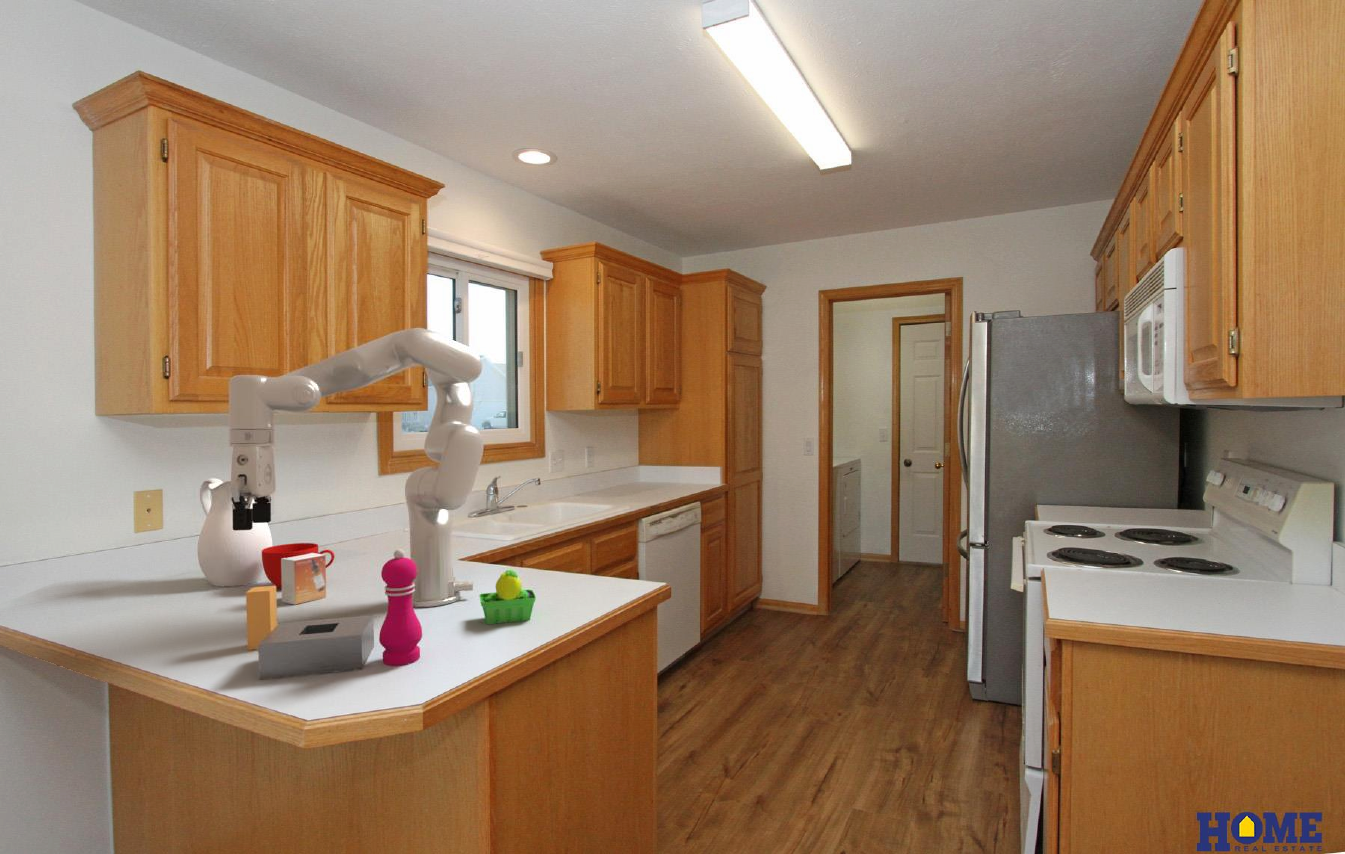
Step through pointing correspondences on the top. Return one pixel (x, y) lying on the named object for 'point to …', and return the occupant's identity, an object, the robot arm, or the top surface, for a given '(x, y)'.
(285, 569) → the small box
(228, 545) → the pitcher
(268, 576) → the ceramic cup
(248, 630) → the wedge peg
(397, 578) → the pepper mill
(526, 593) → the fruit basket
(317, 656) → the socket block
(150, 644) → the top surface
